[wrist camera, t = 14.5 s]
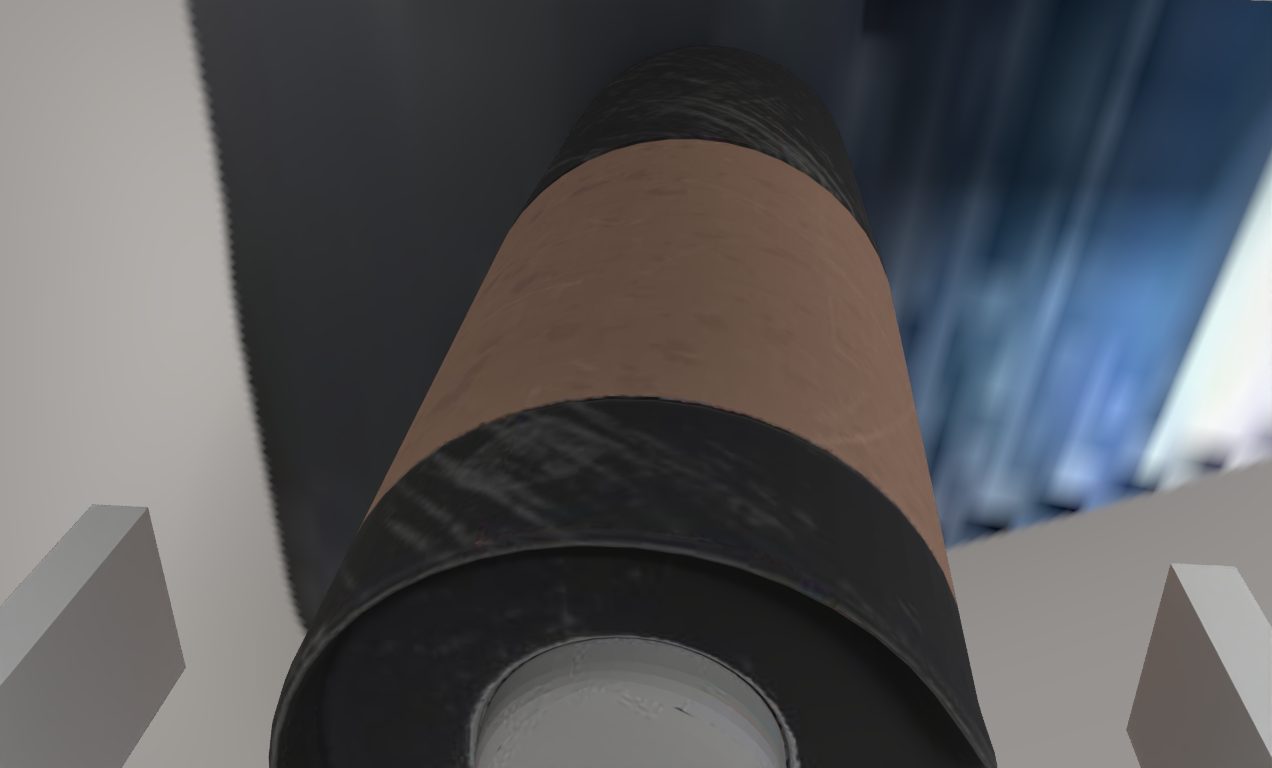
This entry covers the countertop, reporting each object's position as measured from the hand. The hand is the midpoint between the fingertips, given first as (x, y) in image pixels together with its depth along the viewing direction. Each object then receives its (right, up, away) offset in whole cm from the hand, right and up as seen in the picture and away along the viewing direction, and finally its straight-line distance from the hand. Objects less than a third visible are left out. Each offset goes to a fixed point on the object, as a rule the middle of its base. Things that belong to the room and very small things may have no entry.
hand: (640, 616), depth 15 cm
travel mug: (+2, +8, +14) cm, 16 cm away
